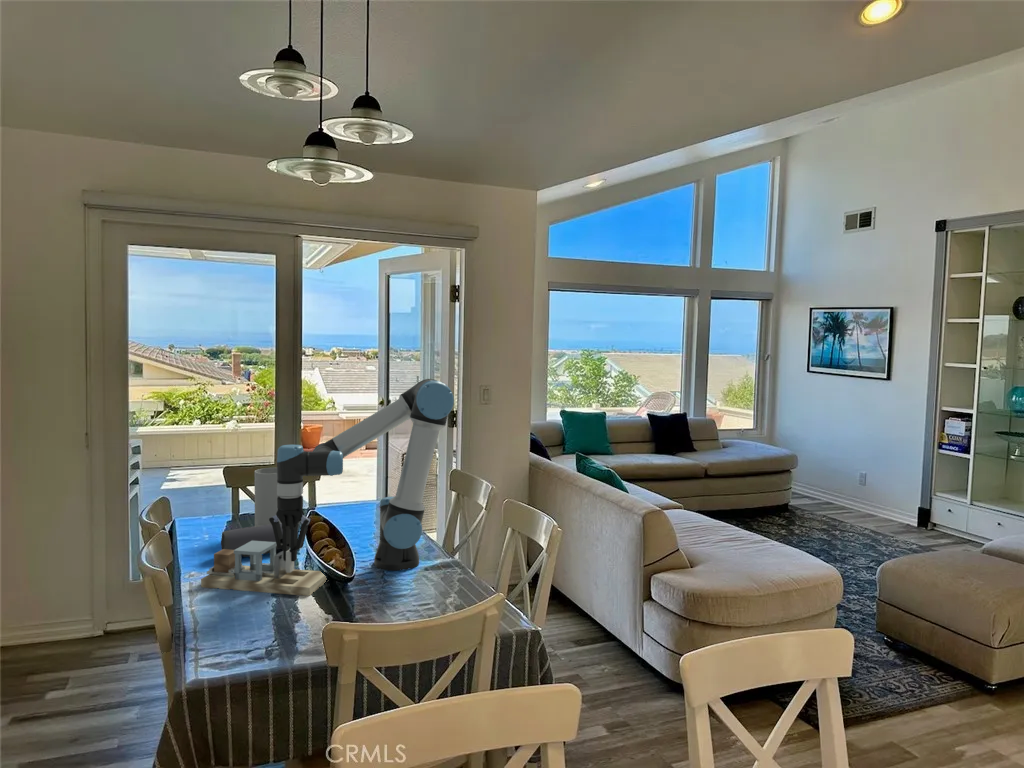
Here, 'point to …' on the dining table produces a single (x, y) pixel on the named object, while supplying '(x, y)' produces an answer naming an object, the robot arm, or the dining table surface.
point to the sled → (278, 571)
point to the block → (224, 560)
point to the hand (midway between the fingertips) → (290, 570)
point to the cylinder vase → (265, 495)
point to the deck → (270, 582)
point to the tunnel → (254, 559)
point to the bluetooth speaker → (248, 537)
